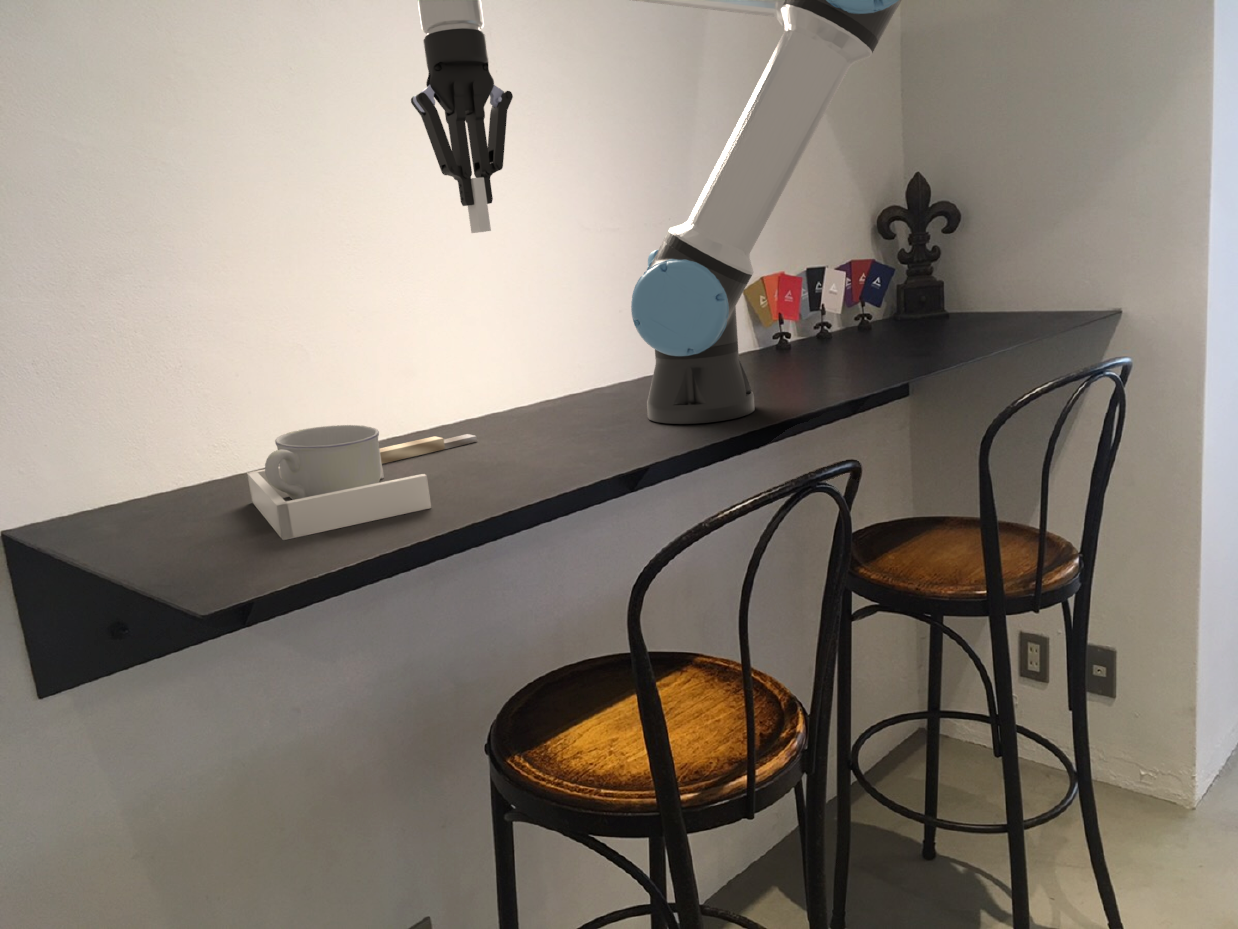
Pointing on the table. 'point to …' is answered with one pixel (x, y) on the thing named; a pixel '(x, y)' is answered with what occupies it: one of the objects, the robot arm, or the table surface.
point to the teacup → (324, 460)
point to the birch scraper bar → (423, 447)
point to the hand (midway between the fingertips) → (481, 231)
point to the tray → (337, 504)
